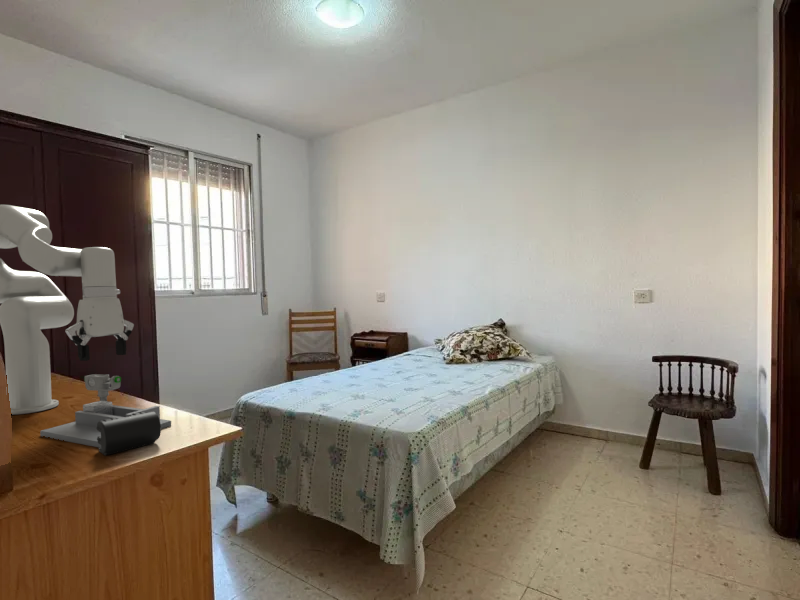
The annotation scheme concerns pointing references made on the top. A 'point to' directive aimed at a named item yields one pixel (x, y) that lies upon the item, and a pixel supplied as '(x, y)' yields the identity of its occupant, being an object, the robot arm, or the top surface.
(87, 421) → the grey railed base plate
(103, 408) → the grey matte cube
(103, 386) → the mechanical component
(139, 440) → the end cap
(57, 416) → the top surface
